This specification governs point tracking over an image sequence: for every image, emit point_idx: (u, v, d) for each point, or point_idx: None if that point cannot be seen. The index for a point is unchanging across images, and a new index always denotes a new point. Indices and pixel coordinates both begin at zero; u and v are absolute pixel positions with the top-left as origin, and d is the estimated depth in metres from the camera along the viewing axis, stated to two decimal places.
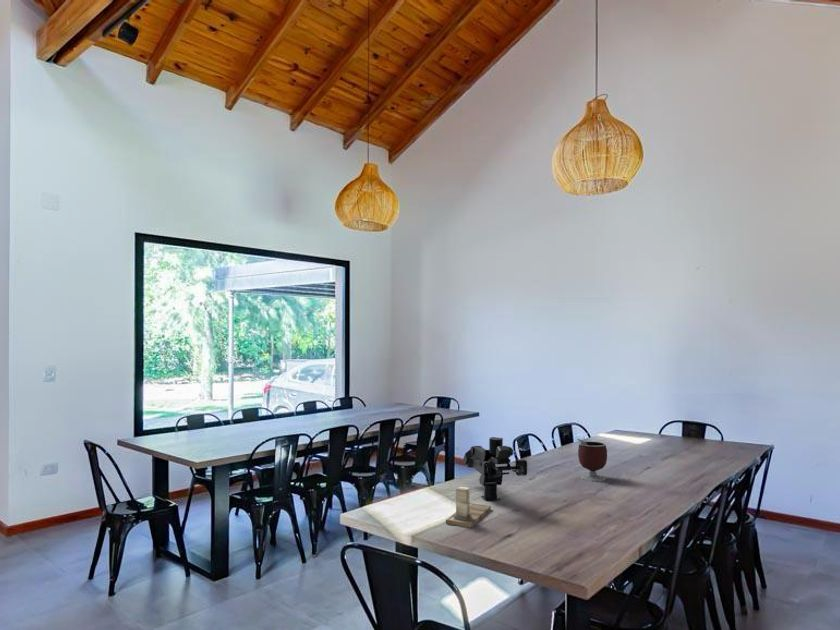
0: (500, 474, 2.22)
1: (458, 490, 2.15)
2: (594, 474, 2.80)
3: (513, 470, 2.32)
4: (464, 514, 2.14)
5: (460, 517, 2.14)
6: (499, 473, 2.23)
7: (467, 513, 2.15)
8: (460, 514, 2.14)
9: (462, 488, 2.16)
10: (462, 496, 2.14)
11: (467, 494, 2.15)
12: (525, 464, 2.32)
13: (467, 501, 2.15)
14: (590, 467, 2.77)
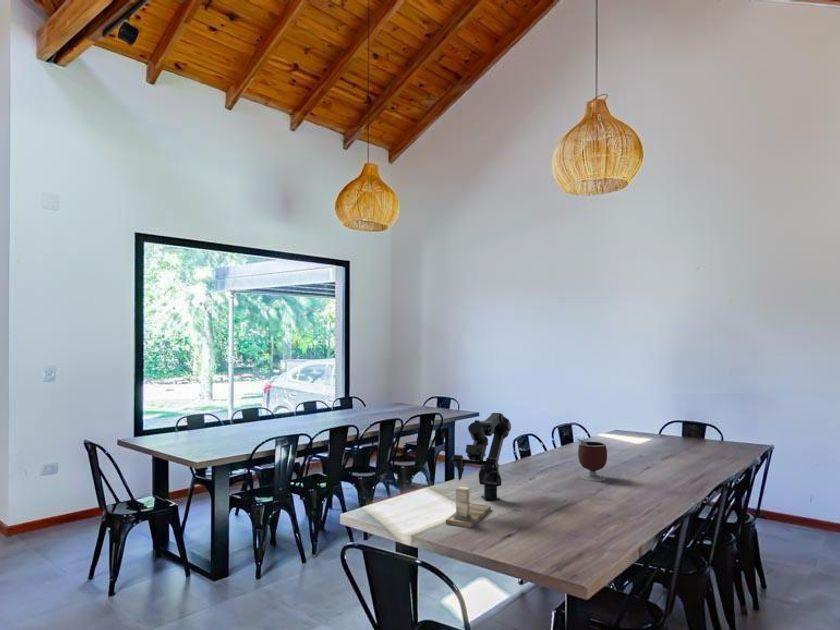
0: None
1: (458, 490, 2.15)
2: (594, 474, 2.80)
3: (484, 465, 2.28)
4: (464, 514, 2.14)
5: (460, 517, 2.14)
6: None
7: (467, 513, 2.15)
8: (460, 514, 2.14)
9: (462, 488, 2.16)
10: (462, 496, 2.14)
11: (467, 494, 2.15)
12: None
13: (467, 501, 2.15)
14: (590, 467, 2.77)
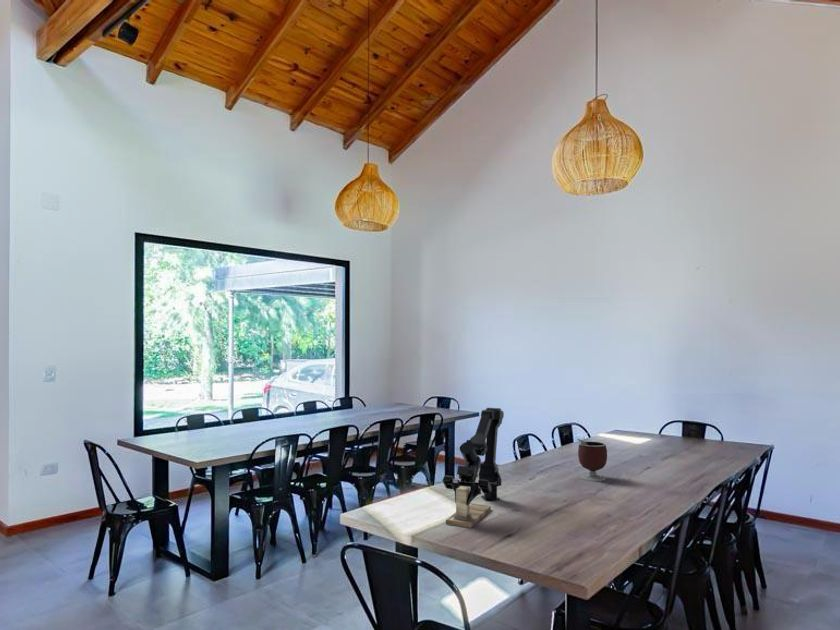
0: None
1: (458, 490, 2.15)
2: (594, 474, 2.80)
3: None
4: (464, 514, 2.14)
5: (460, 517, 2.14)
6: None
7: (467, 513, 2.15)
8: (460, 514, 2.14)
9: (462, 488, 2.16)
10: (462, 496, 2.14)
11: (467, 494, 2.15)
12: (487, 486, 2.15)
13: None
14: (590, 467, 2.77)
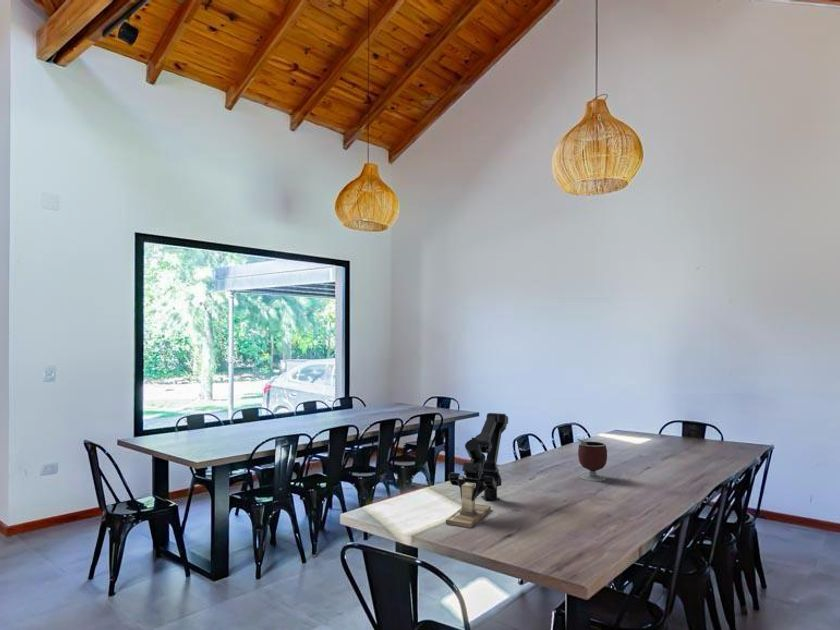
0: None
1: (464, 486, 2.20)
2: (594, 474, 2.80)
3: None
4: (469, 510, 2.19)
5: (466, 513, 2.19)
6: None
7: (472, 509, 2.20)
8: (466, 510, 2.20)
9: (467, 485, 2.21)
10: (468, 492, 2.19)
11: (472, 490, 2.21)
12: (491, 483, 2.21)
13: None
14: (590, 467, 2.77)
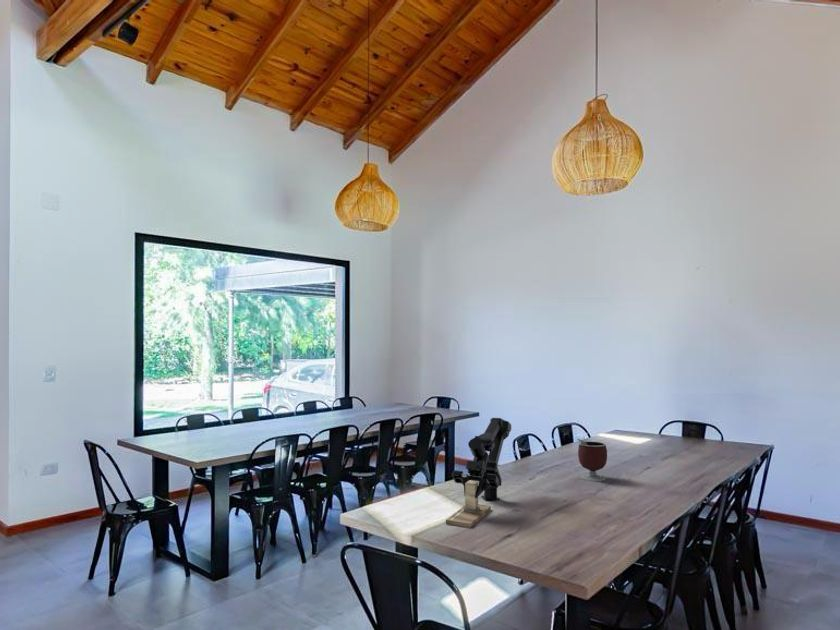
0: None
1: (467, 484, 2.24)
2: (594, 474, 2.80)
3: None
4: (473, 507, 2.22)
5: (469, 510, 2.23)
6: None
7: (476, 506, 2.24)
8: (469, 507, 2.23)
9: (471, 482, 2.25)
10: (471, 489, 2.23)
11: (476, 488, 2.24)
12: (495, 480, 2.24)
13: None
14: (590, 467, 2.77)
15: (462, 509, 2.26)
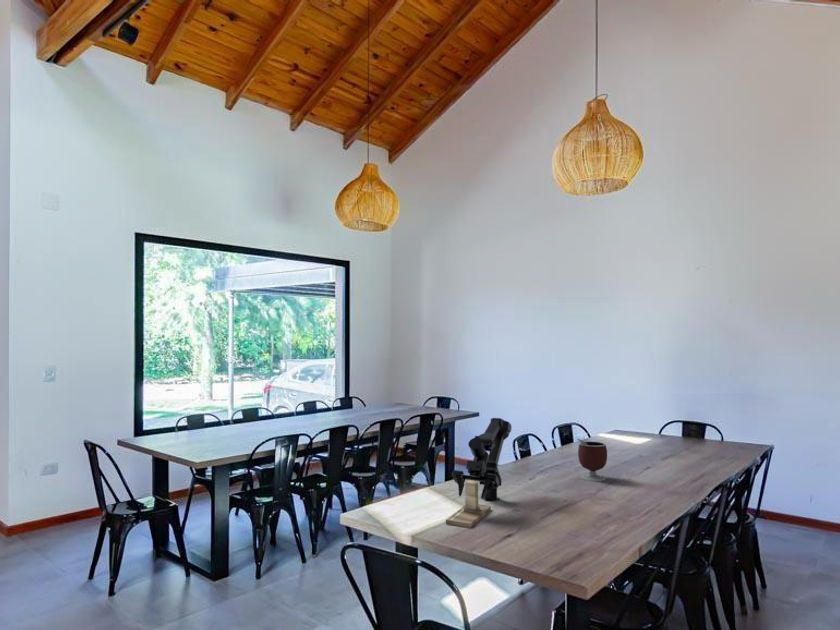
0: None
1: (467, 484, 2.24)
2: (594, 474, 2.80)
3: (485, 480, 2.29)
4: (473, 507, 2.23)
5: (469, 510, 2.23)
6: None
7: (476, 506, 2.24)
8: (469, 507, 2.23)
9: (471, 482, 2.25)
10: (471, 489, 2.23)
11: (476, 488, 2.24)
12: (495, 480, 2.25)
13: (476, 495, 2.24)
14: (590, 467, 2.77)
15: (462, 509, 2.26)
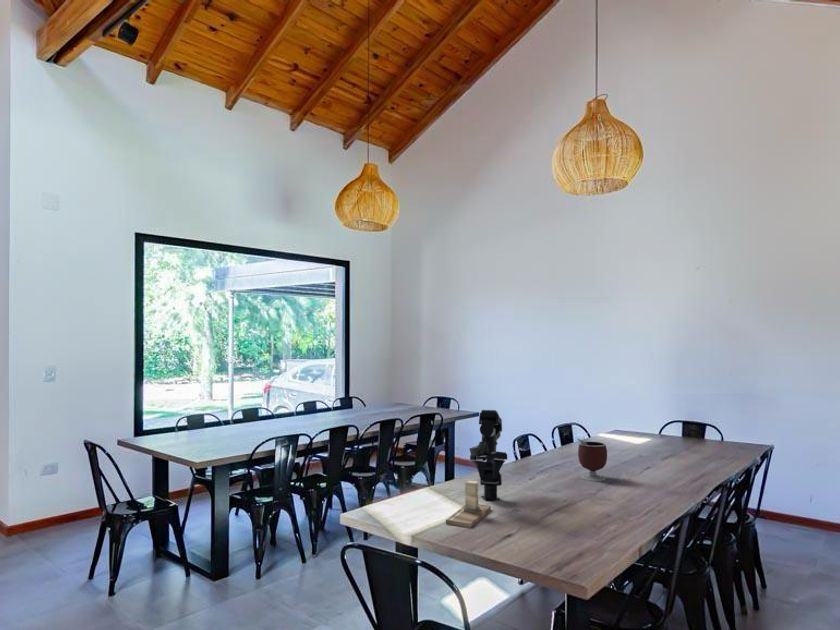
0: None
1: (467, 484, 2.24)
2: (594, 474, 2.80)
3: None
4: (473, 507, 2.23)
5: (469, 510, 2.23)
6: None
7: (476, 506, 2.24)
8: (469, 507, 2.23)
9: (471, 482, 2.25)
10: (471, 489, 2.23)
11: (476, 488, 2.24)
12: None
13: (476, 495, 2.24)
14: (590, 467, 2.77)
15: (462, 509, 2.26)
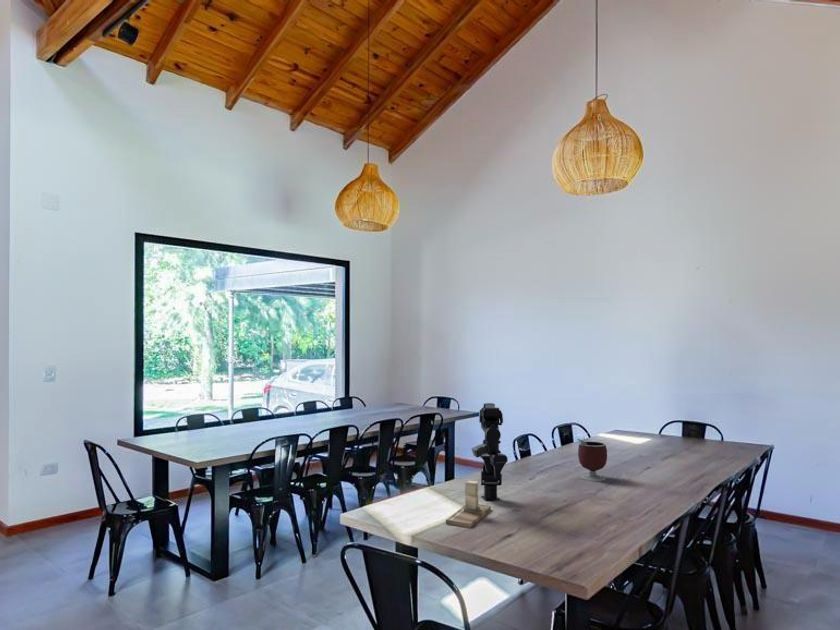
0: None
1: (467, 484, 2.24)
2: (594, 474, 2.80)
3: None
4: (473, 507, 2.23)
5: (469, 510, 2.23)
6: None
7: (476, 506, 2.24)
8: (469, 507, 2.23)
9: (471, 482, 2.25)
10: (471, 489, 2.23)
11: (476, 488, 2.24)
12: None
13: (476, 495, 2.24)
14: (590, 467, 2.77)
15: (462, 509, 2.26)
